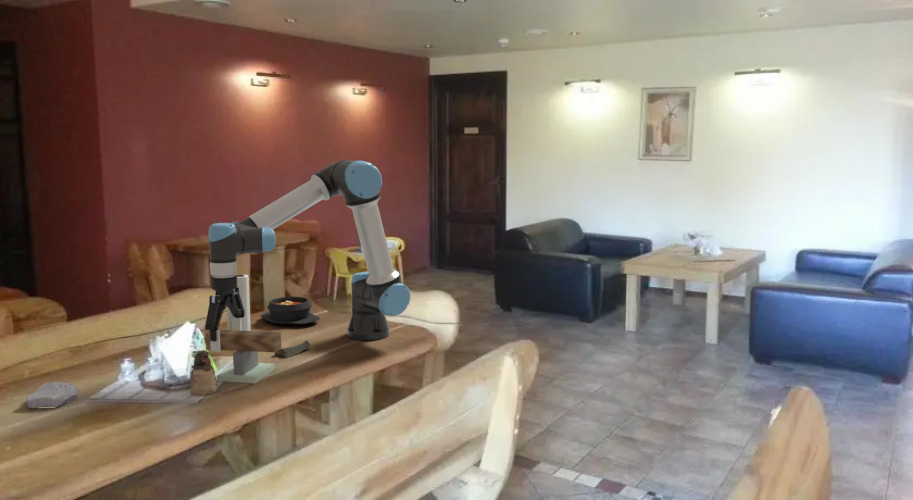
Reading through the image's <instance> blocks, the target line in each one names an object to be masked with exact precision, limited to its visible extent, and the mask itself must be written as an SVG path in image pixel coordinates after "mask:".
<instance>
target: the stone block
mask: <svg viewBox="0 0 913 500" xmlns="http://www.w3.org/2000/svg"><path fill="white" fill-rule="evenodd" d="M78 392H79V387H78V385H76V384H73V383H70V382H65V381H64V382H63V381H51V382H46V383H43V384H41V385H40V386H39V387H38V388H37V389H36V390H35V392H34V393H33V394H30V395H28V396H27V398H26V400H27V404H26V405H27V406H26V407H27V408H28V409H29V408H39V407H58V406H60V405H62V404H64V403H65V402H68V401H70V400H71V401H73V400H74V399H73V398H75V397H76V398H77V395H78ZM76 398H75V399H76ZM72 399H73V400H72ZM71 401H70V402H71ZM68 403H69V402H68ZM65 404H66V403H65ZM65 404H64V405H65ZM62 406H63V405H62ZM60 407H61V406H60ZM58 408H59V407H58Z"/></svg>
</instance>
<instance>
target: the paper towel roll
mask: <svg viewBox="0 0 913 500" xmlns="http://www.w3.org/2000/svg"><path fill="white" fill-rule="evenodd" d="M236 276H237V287H238V288H239V294H240V297H241V301H242V304H243V307H244V310H245V313H244V315H245V316H244V318H242V317H241V328H242V331H252V330H251V310H250V309H251V307H250V306H251V304H250V284H249V283H250V281H249V280H250V278H249V275H248V274H241V273H240V274H236ZM240 310H241V309H240ZM232 318H235V317H233V315H232V313H231V311H230V310H229V308H228V306H227V307H226V322H227V323H226V327H227V329H226V330H232Z"/></svg>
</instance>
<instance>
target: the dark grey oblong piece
mask: <svg viewBox="0 0 913 500" xmlns="http://www.w3.org/2000/svg"><path fill="white" fill-rule="evenodd" d="M310 348H311V343H310V342H309V341H308V340H307V339H306V340H305V341H303V342H302V343H299V344H296V345H292V346H289V347H288V346H287V347H284V348H281V349H280V350H278V351H277V352H274V356H275V357H283V358H284V359H288V358H290V357H293V356H296V355H298V354H300V353H302V352H303V351H309V350H310Z"/></svg>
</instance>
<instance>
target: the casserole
mask: <svg viewBox="0 0 913 500" xmlns="http://www.w3.org/2000/svg"><path fill="white" fill-rule="evenodd" d="M312 306H313V304H312V303H311V300H310V299H309V298H306V297H303V296H281V297H276V298H274V299H271V300H270V301H269V303H268V305H267V306H266V307H267V310H268V311H267V312H264V313H261V314H260V317H261V318H262V319H265V321H267V322H270V323H273V324H277V325H281V326H295V325H307V324H311V323H314V322H317V321H319V320H320V319H321V317H320V316H317V315H315V314H314V313H312V312H311V308H312Z"/></svg>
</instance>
